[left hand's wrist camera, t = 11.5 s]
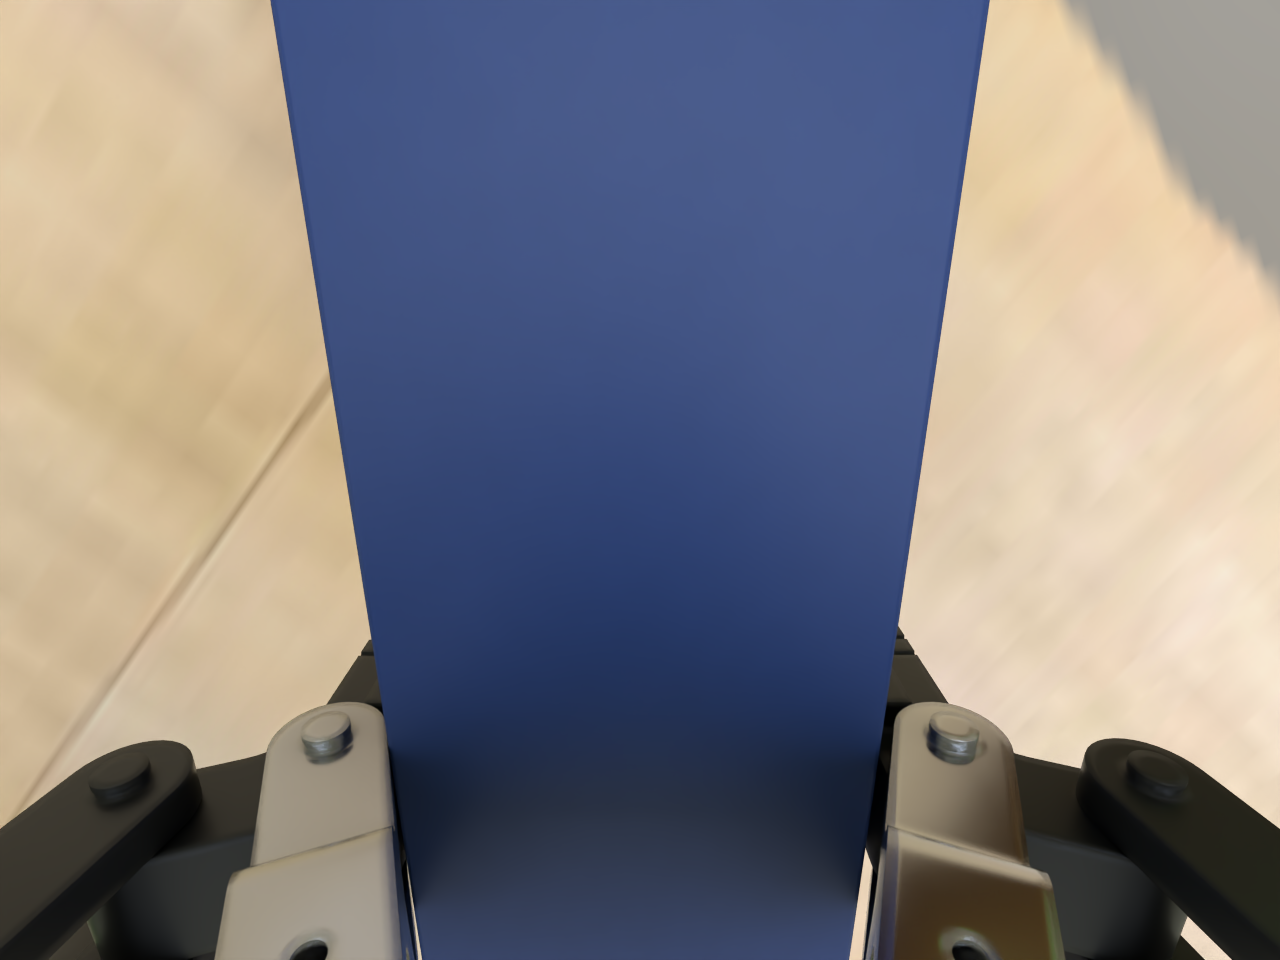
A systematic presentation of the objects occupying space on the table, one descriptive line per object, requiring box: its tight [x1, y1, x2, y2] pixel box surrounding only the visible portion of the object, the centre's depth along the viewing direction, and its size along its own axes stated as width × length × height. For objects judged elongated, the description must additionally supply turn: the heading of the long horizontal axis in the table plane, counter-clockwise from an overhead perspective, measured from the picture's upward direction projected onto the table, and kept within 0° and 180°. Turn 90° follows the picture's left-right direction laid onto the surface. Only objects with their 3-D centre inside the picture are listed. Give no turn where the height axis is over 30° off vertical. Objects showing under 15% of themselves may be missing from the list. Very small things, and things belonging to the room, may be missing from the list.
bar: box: [271, 0, 990, 960], centre depth 9 cm, size 24×5×8 cm, turn 0°
